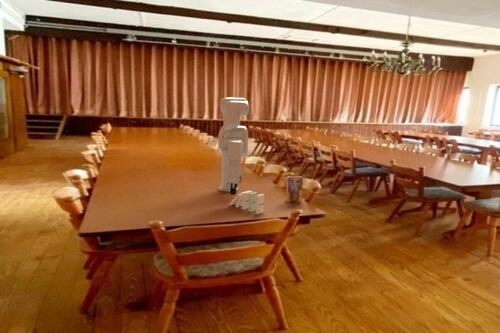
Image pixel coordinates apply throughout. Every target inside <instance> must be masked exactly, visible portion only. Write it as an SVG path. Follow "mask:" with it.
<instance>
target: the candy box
mask: <svg viewBox="0 0 500 333" xmlns="http://www.w3.org/2000/svg"><path fill="white" fill-rule="evenodd" d="M303 180H304V177H303V176H301V175H300V176H299V175H298V176H296V175H287V177H286V189H285V190H286V191H285V192H286V193H285V201H286V202H287V203H302V200H303V198H302V197H303Z"/></svg>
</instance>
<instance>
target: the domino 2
mask: <svg viewBox="0 0 500 333" xmlns="http://www.w3.org/2000/svg"><path fill="white" fill-rule="evenodd" d="M244 192H246V191H242V192H240V193H241V195H240V197H239V199H238V201H237V203H236V204H235V205H234V206H235V208H236V209H237V208H242V207H241V206H242V202H243V196H244Z"/></svg>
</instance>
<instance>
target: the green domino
mask: <svg viewBox="0 0 500 333" xmlns="http://www.w3.org/2000/svg"><path fill="white" fill-rule="evenodd" d="M256 195H258V192H256V191H252V193H249V207H248V209H247V210H248V212H249V213H252V212H256Z"/></svg>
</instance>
